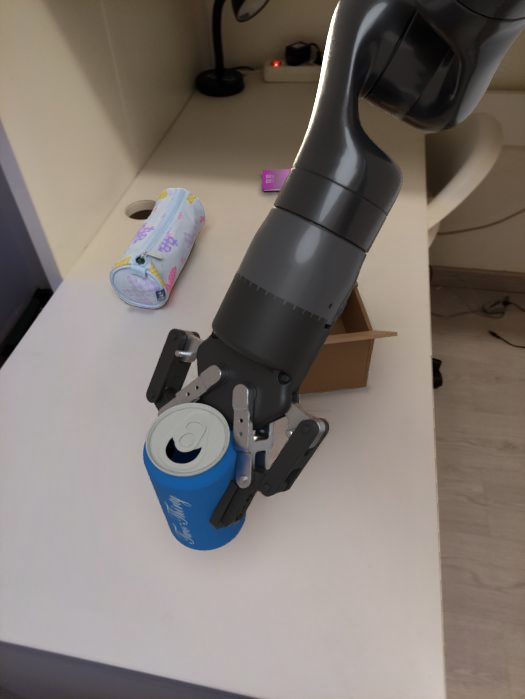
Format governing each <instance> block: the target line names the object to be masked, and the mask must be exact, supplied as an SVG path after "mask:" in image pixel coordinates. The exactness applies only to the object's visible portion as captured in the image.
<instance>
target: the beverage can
mask: <svg viewBox="0 0 525 699" xmlns="http://www.w3.org/2000/svg"><path fill="white" fill-rule="evenodd" d="M170 439H171V440H172V443H173V446H174V450H175V452H174V454H173V456H172V458H171V460H170V459H169V458H168V457H167V455H166V446H167V444H168V442H169V441H170ZM236 456H237V453H236V452H235V451H234V450H233V431H232V430H231V429H230V428H229V426H228V423H227V421H226V419H225V418H224V417H223V415H222V414H221V413H220V412H219V411H217V410H216V409H215V408H213V407H211V406H208V405H205V404H201V403H184V404H180V405H176V406H174V407H171V408H169V409H168V410H166V411H164V412H163V413H162V414H160V415H159V416H158V415H157V417H156V418H155V419H154V421H152V423H151V425H150V426H149V428H148V431H147V433H146V436H145V441H144V444H143V450H142V459H143V465H144V468H145V470H146V473H147V475H148V478H149V480H150V482H151V485H152V488H153V490H154V493H155V495H156V498H157V500H158V502H159V506H160V508H161V510H162V513H163V514H164V518H165V520H166V522H167V525H168V528H169V530H170V532H171V534H172V536H173V537H174V539H176V541H178V542H179V543H180V544H181V545H183V546H184V547H186V548H189V549H190V550H195V551H204V552H206V551H207V552H208V551H213V550H217V549H219V548H222V547H224V546H227V545H228V544H229V543H230V542H232V541H233V540H234V539H235V538H236V537H237V536H238V535H239V533H240V532H241V530H242V528H243V526H244V524H245V521H246V518H247V511H246V512H245V515H244V517H243V519H242V520H240V521H239V522H238V523H236V524H233V525H231V526H228V527H223V528H221V529H218V530H216V529H215V528H214V527H213V526H212V525H211V524H210V523H209V520H210V518H211V516H212V514H213V512H214V510H215V509H216V507H217V505H218V503H219V501H220V499H221V497H222V496H223V494H224V493H225V491H226V489H227V487H228V485H229V483H230V481H231V480H234V479H235V476H236Z"/></svg>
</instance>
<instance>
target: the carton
mask: <svg viewBox="0 0 525 699" xmlns="http://www.w3.org/2000/svg"><path fill="white" fill-rule="evenodd" d="M358 287H359V283H358V280H357V281H356V283H355V286H354V288H353V290H352V292H351V294H350V296H349V298H348V300H347V304H346V307H345V309H344V311H343V312H342V314H341V315H340V316H339V317H338V318H337V320H336V322H335V324H334V326H333V328H332V330H331V332H330V333H329V335H328V336H330V335H338V334H347V333H355V332H364V331H373V330H374V328H373V326H372V323H371V320H370V318H369V315H368V312H367V310H366V307H365V304H364V302H363V299H362V296H361V293H360V291H359V288H358ZM374 344H375V339H367V340H359V341H350V342H341V343H333V344H324V345H323V347H322V348H321V350H320V352H319V354H318V356H317V358H316V360H315V362H314V364H313V365H312V367H311V369H310V371H309V373H308V374H307V376H306V377H305V379H304V380H303V382H302V384H301V386H300V390H299V396H300V395H307V394H308V395H309V394H317V393H325V392H332V391H333V392H334V391H341V390H350V389H357V388H358V389H359V388H367V383H368V380H369V372H370V367H371V363H372V362H371V361H372V356H373V350H374Z"/></svg>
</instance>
